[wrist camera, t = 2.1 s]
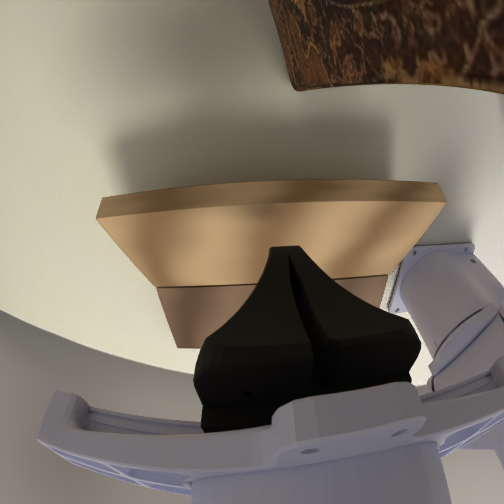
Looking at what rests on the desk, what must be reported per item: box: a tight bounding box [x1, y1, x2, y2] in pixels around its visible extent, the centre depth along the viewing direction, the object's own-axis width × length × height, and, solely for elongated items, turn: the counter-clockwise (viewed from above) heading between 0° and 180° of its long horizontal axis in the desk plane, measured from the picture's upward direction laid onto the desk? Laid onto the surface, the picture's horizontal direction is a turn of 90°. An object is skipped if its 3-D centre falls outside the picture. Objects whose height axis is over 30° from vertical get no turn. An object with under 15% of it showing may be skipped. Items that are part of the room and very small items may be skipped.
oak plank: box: [96, 179, 447, 287], centre depth 18 cm, size 20×10×2 cm
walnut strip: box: [156, 274, 388, 349], centre depth 25 cm, size 20×8×2 cm, turn 93°
